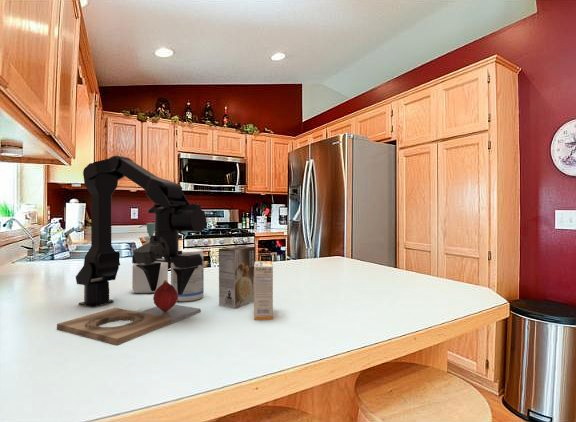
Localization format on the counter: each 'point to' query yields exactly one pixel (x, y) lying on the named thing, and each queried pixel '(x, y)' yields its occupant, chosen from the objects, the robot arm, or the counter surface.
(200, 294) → the supplement tub
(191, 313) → the plate
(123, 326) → the walnut bore board
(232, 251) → the coffee box
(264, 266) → the supplement box
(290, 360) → the counter surface
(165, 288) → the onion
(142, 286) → the soap bottle
